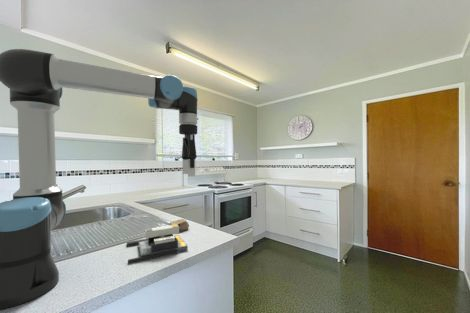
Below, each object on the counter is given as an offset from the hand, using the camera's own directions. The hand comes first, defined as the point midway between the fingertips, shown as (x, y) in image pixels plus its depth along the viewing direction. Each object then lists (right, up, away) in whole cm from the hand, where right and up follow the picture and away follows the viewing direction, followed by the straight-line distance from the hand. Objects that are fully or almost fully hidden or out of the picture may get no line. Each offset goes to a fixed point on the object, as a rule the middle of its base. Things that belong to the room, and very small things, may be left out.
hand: (188, 175), depth 90 cm
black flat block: (-8, -27, -8) cm, 30 cm away
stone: (-8, -28, +15) cm, 33 cm away
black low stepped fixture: (-12, -27, -8) cm, 31 cm away
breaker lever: (-8, -21, -8) cm, 24 cm away
